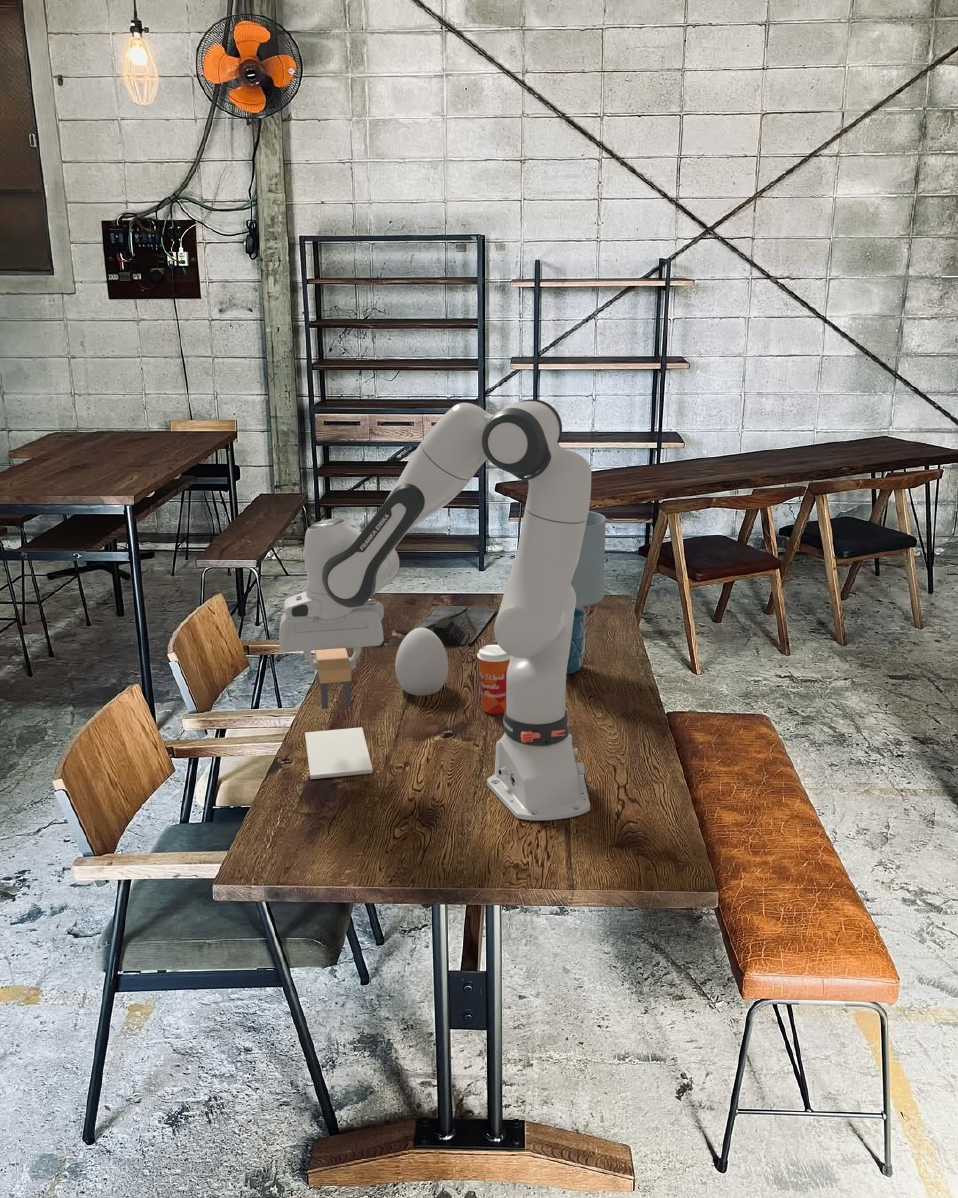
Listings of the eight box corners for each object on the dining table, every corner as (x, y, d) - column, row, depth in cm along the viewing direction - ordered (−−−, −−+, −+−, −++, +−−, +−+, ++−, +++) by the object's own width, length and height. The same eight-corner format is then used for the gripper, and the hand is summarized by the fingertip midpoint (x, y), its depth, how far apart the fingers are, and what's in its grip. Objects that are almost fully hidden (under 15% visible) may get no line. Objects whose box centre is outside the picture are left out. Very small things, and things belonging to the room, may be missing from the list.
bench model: (316, 683, 216) (315, 646, 214) (346, 680, 217) (344, 644, 215) (321, 710, 203) (319, 671, 201) (352, 707, 204) (350, 668, 202)
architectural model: (470, 654, 273) (495, 624, 302) (472, 631, 272) (497, 603, 300) (406, 642, 277) (437, 613, 305) (408, 620, 275) (439, 593, 303)
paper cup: (471, 712, 233) (470, 652, 229) (487, 699, 240) (487, 641, 236) (503, 718, 230) (503, 658, 226) (518, 706, 236) (518, 647, 232)
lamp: (540, 650, 270) (541, 505, 258) (612, 662, 262) (617, 513, 250) (509, 676, 253) (509, 522, 242) (584, 689, 245) (588, 531, 234)
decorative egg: (436, 676, 254) (435, 616, 249) (457, 693, 244) (456, 632, 239) (388, 684, 249) (386, 624, 244) (407, 703, 238) (405, 640, 234)
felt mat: (372, 773, 206) (372, 769, 206) (310, 779, 204) (310, 775, 203) (362, 730, 225) (362, 727, 224) (305, 736, 222) (304, 732, 222)
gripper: (381, 593, 209) (383, 659, 213) (276, 600, 205) (280, 666, 210) (385, 603, 203) (387, 670, 208) (277, 610, 199) (281, 678, 204)
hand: (332, 668), depth 208 cm, fingers closed on bench model, 6 cm apart
